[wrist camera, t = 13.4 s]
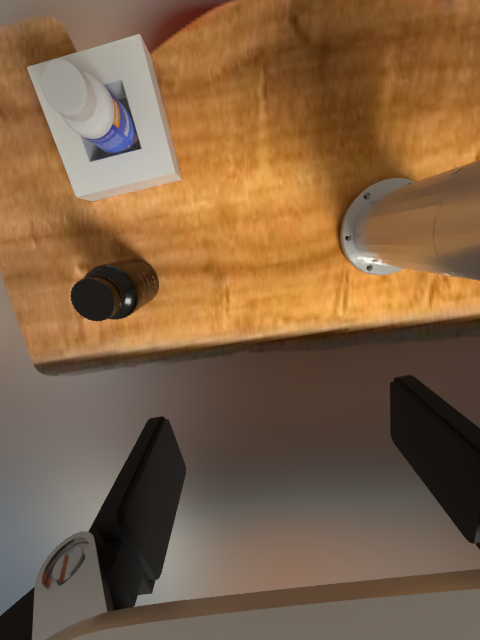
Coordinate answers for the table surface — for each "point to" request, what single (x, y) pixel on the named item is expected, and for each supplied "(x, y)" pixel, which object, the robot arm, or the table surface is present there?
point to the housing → (140, 101)
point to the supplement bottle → (114, 290)
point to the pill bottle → (89, 107)
